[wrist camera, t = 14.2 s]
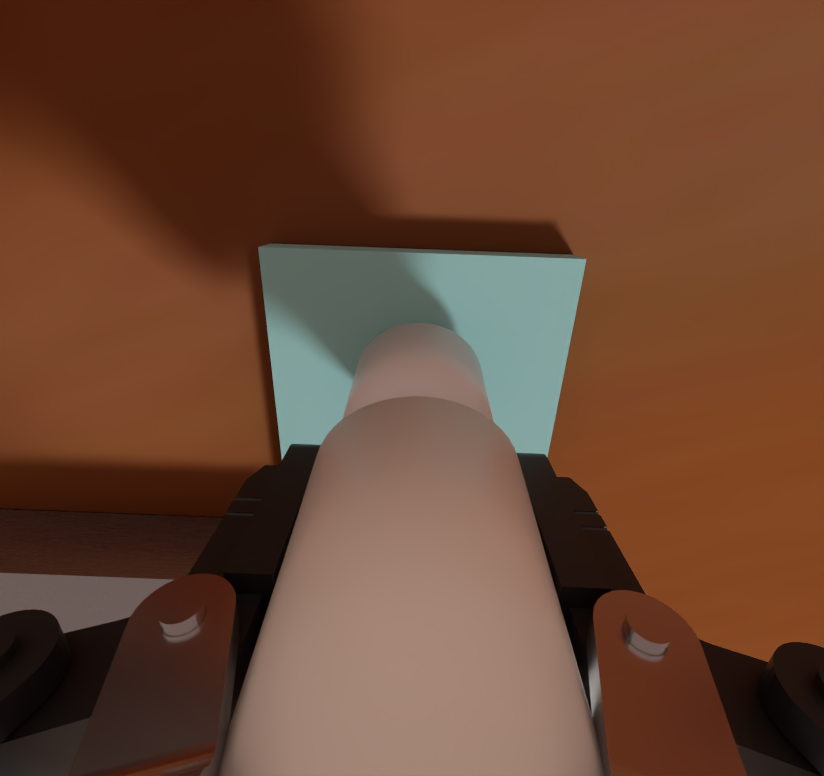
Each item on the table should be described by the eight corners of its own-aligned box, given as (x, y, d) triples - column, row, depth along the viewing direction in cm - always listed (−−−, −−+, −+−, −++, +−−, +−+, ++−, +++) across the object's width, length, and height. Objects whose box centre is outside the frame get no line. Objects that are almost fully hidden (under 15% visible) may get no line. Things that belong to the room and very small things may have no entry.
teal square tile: (529, 499, 16) (535, 517, 15) (294, 490, 16) (287, 507, 15) (574, 254, 12) (586, 259, 11) (270, 243, 12) (258, 246, 11)
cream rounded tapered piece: (512, 328, 11) (800, 987, 3) (469, 448, 13) (552, 1014, 5) (355, 297, 11) (98, 945, 2) (338, 425, 13) (176, 994, 4)
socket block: (347, 746, 23) (337, 819, 21) (96, 736, 23) (52, 808, 21) (335, 522, 17) (318, 585, 14) (-15, 508, 17) (-100, 568, 14)
